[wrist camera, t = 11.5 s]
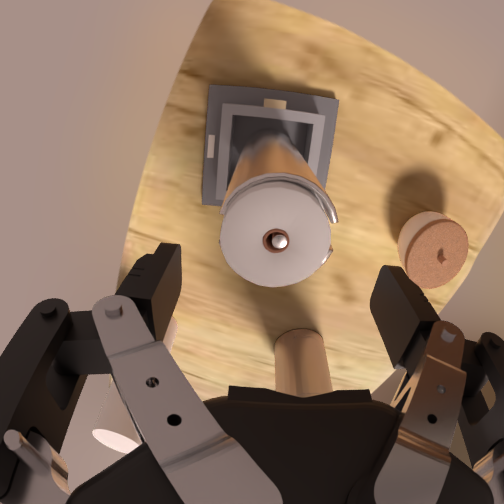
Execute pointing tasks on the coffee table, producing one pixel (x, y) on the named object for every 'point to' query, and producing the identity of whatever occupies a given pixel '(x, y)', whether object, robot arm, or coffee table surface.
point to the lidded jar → (432, 249)
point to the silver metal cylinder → (275, 214)
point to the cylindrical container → (123, 412)
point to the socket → (258, 117)
